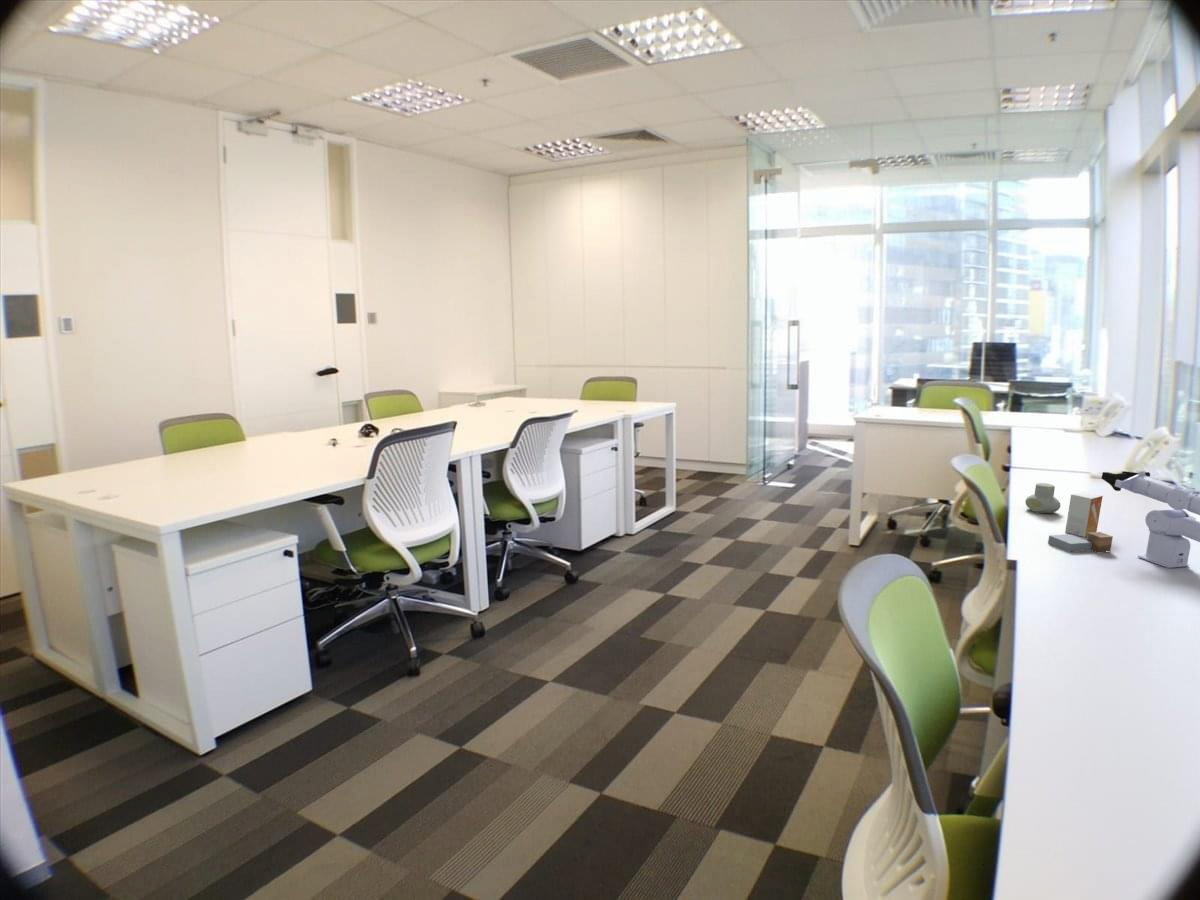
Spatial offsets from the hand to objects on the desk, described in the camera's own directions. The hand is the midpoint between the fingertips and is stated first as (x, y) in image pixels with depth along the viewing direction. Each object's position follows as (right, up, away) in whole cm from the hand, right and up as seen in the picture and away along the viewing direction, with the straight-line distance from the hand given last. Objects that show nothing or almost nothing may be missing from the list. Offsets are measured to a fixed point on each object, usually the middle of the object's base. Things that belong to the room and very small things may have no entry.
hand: (1112, 474), depth 228 cm
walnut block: (-8, -23, -5) cm, 25 cm away
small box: (-2, -20, +12) cm, 23 cm away
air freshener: (0, -15, +37) cm, 40 cm away
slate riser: (-15, -23, -2) cm, 27 cm away
